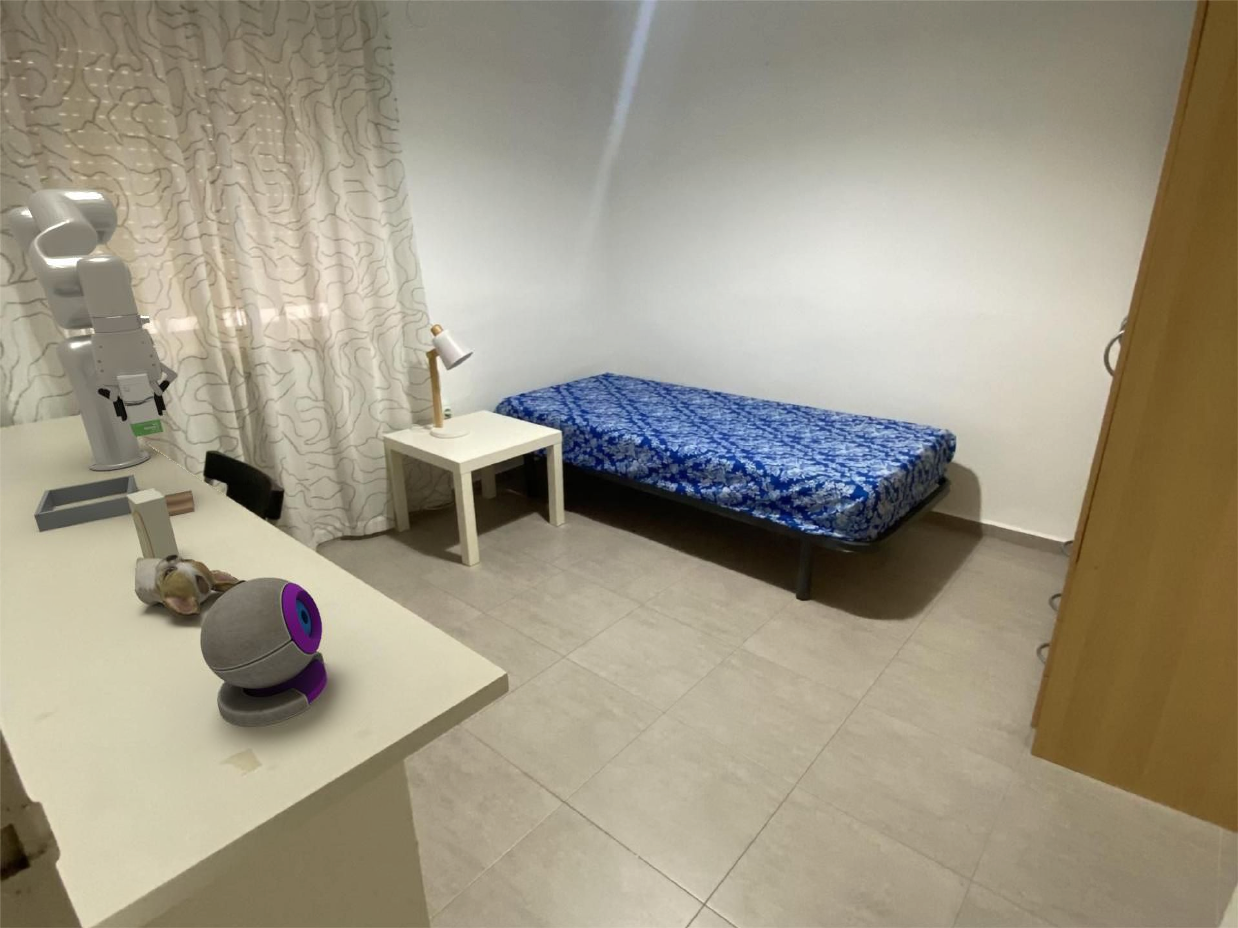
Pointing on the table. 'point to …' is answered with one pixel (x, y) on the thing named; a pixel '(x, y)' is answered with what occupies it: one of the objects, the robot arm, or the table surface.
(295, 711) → the webcam
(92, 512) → the bin
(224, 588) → the ceramic sculpture
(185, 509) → the pad
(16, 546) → the table surface
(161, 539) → the skincare box
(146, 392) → the ink box
